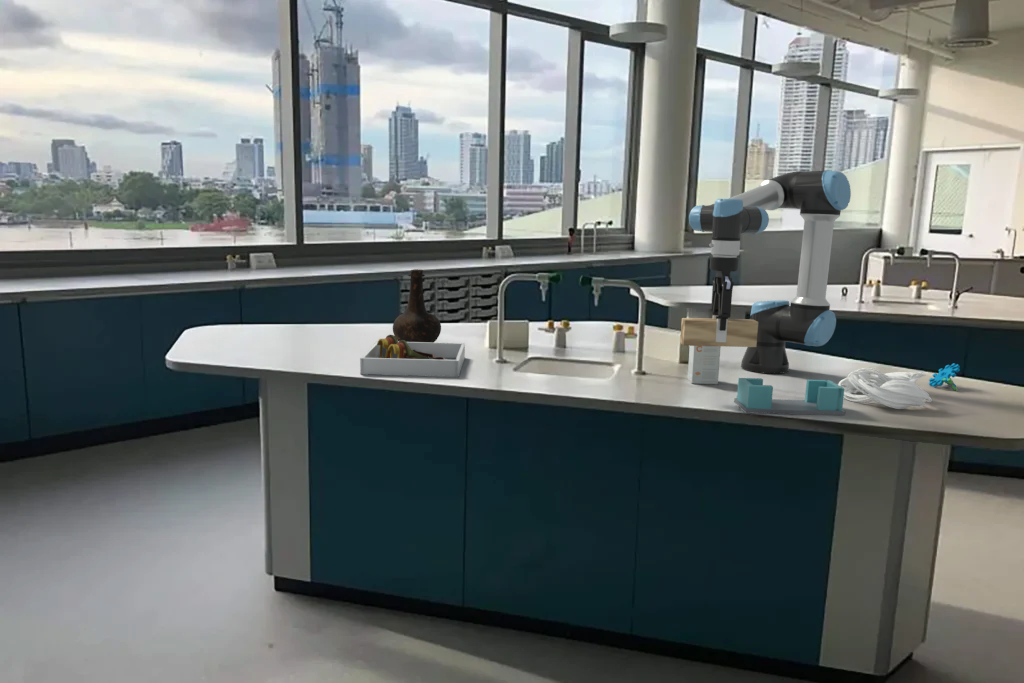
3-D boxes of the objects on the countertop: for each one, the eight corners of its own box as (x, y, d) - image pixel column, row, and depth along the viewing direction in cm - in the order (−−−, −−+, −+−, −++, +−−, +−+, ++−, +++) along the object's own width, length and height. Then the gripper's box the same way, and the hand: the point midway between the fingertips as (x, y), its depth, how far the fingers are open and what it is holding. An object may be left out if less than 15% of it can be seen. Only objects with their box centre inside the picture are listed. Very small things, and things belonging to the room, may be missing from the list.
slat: (680, 342, 213) (681, 317, 212) (751, 344, 212) (753, 319, 211) (683, 345, 208) (685, 320, 207) (756, 347, 208) (758, 322, 207)
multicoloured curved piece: (469, 367, 246) (470, 337, 244) (415, 378, 228) (415, 345, 226) (419, 356, 261) (419, 327, 260) (364, 365, 244) (364, 335, 242)
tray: (377, 355, 259) (377, 341, 258) (464, 357, 259) (464, 343, 258) (360, 374, 231) (360, 358, 230) (458, 376, 231) (458, 360, 230)
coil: (864, 389, 231) (867, 359, 229) (947, 405, 211) (950, 372, 210) (818, 401, 216) (820, 369, 215) (902, 419, 197) (905, 384, 195)
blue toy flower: (924, 376, 240) (953, 357, 235) (937, 390, 240) (966, 371, 235) (931, 389, 230) (961, 369, 225) (944, 403, 230) (974, 384, 225)
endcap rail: (734, 401, 209) (736, 377, 208) (827, 404, 209) (830, 379, 208) (746, 412, 198) (748, 386, 197) (844, 415, 198) (847, 389, 197)
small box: (712, 379, 235) (716, 338, 233) (718, 384, 229) (721, 342, 227) (686, 379, 235) (689, 338, 233) (691, 384, 229) (694, 341, 227)
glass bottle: (420, 351, 267) (420, 272, 262) (382, 345, 277) (381, 269, 272) (450, 344, 282) (451, 269, 277) (414, 339, 291) (414, 266, 286)
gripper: (703, 253, 215) (698, 334, 219) (718, 258, 197) (712, 345, 202) (730, 254, 214) (724, 335, 219) (747, 258, 197) (740, 346, 201)
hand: (718, 340), depth 210 cm, fingers closed on slat, 4 cm apart
